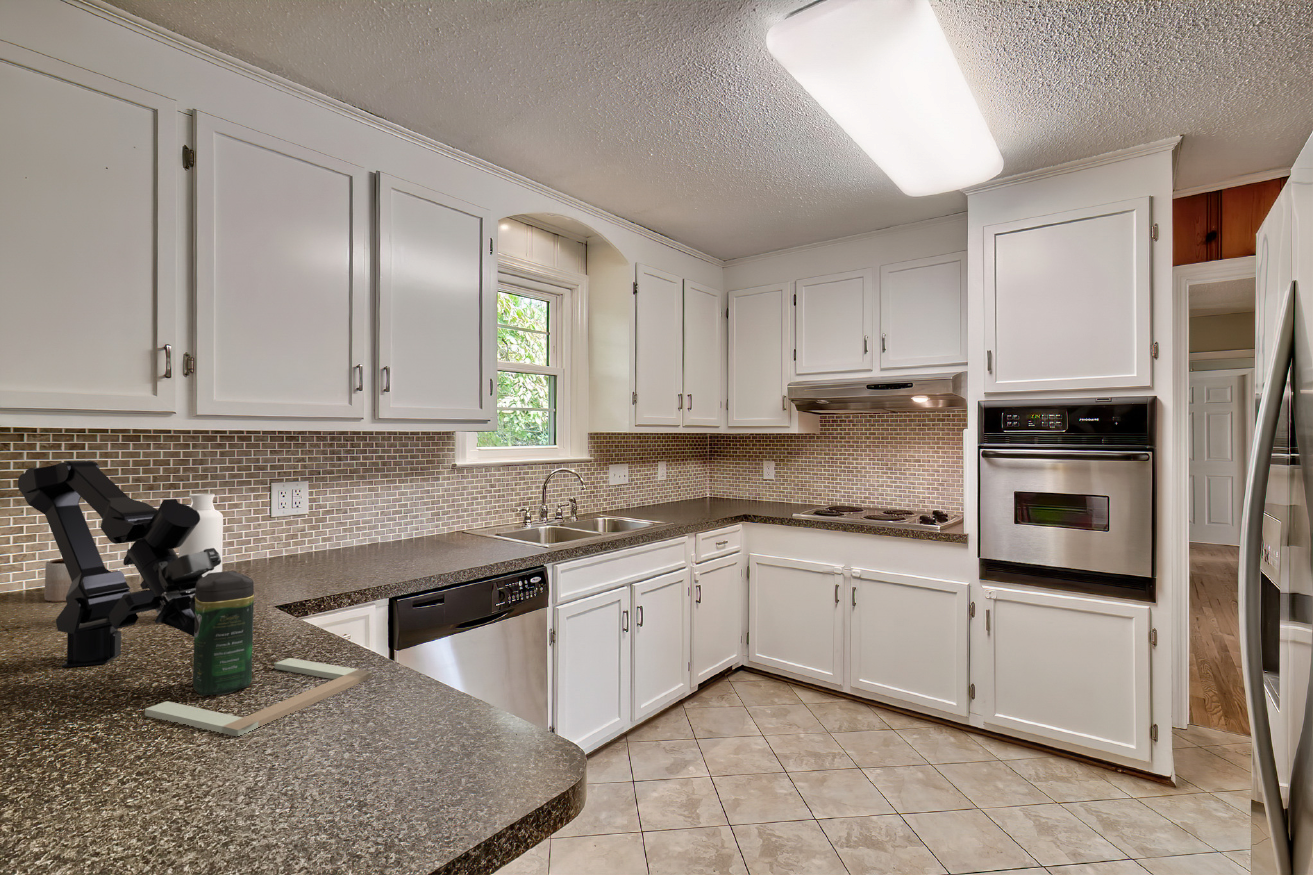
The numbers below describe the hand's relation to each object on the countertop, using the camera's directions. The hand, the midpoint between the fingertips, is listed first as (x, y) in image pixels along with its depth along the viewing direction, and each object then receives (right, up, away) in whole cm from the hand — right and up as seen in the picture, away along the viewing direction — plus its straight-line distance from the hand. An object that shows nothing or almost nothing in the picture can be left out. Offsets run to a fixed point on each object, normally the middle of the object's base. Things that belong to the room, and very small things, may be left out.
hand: (204, 637), depth 107 cm
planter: (-73, -8, +56) cm, 92 cm away
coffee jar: (+4, -8, -2) cm, 9 cm away
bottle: (-28, -8, +38) cm, 48 cm away
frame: (+14, -8, -5) cm, 16 cm away
